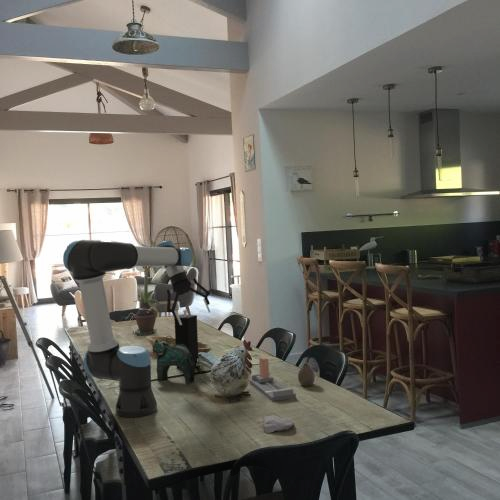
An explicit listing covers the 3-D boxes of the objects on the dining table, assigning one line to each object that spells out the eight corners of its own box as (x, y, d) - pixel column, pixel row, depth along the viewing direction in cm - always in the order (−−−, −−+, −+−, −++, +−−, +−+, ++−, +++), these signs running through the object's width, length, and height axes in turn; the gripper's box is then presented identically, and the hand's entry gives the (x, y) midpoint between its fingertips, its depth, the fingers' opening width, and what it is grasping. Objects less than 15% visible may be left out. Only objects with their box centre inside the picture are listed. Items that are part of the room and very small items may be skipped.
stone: (293, 420, 190) (293, 410, 189) (293, 433, 178) (293, 423, 178) (264, 421, 190) (263, 411, 190) (262, 434, 179) (261, 423, 179)
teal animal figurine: (152, 380, 245) (150, 335, 244) (161, 376, 250) (159, 332, 249) (190, 384, 235) (188, 338, 234) (198, 380, 241) (196, 335, 240)
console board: (249, 383, 234) (249, 375, 234) (271, 380, 238) (271, 372, 237) (271, 401, 210) (271, 392, 210) (295, 397, 213) (295, 388, 213)
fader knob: (255, 379, 233) (255, 357, 232) (269, 377, 235) (268, 355, 234) (259, 382, 228) (259, 360, 227) (273, 381, 230) (272, 358, 229)
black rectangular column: (176, 368, 263) (173, 310, 261) (185, 364, 270) (183, 307, 268) (189, 370, 259) (187, 311, 258) (199, 365, 266) (196, 308, 265)
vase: (314, 387, 225) (313, 366, 225) (297, 387, 226) (296, 366, 226) (315, 382, 232) (314, 362, 231) (299, 382, 233) (298, 361, 233)
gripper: (203, 264, 248) (221, 307, 246) (151, 286, 246) (170, 329, 244) (202, 262, 241) (221, 306, 238) (149, 284, 239) (168, 330, 236)
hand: (195, 318), depth 241 cm, fingers open, 13 cm apart
